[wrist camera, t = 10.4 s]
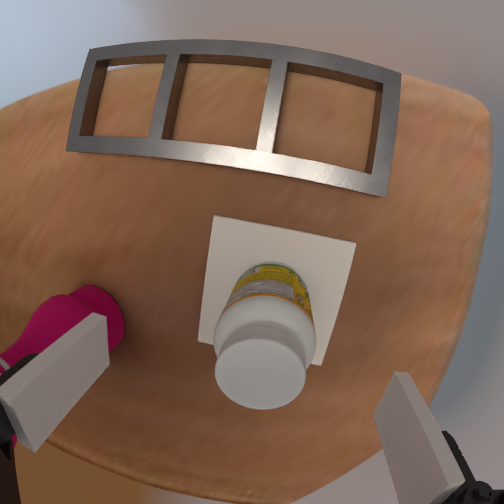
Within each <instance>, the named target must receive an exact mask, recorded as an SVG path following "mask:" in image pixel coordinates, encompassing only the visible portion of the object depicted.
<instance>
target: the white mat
mask: <svg viewBox="0 0 504 504" xmlns="http://www.w3.org/2000/svg"><path fill="white" fill-rule="evenodd" d="M355 247H356V243H355V242H352V241H348V240H343V239H338V238H333V237H329V236H324V235H319V234H314V233H309V232H304V231H299V230H294V229H289V228H284V227H279V226H273V225H268V224H263V223H258V222H252V221H247V220H242V219H236V218H231V217H225V216H220V215H214V218H213V224H212V231H211V238H210V245H209V252H208V259H207V267H206V274H205V282H204V290H203V298H202V306H201V315H200V324H199V333H198V341H199V342H203V343H207V344H212V345H214V343H213V337H214V331H215V327H216V324H217V322H218V320H219V317H220V315H221V313H222V311H223V309H224V307H225V305H226V303H227V301H228V299H229V297H230V295H231V293H232V290H233V288H234V286H235V284H236V282H237V281H238V279H239V278H240V276H241V275H242V274H243V273H244V272H245V271H247V270H248V269H249V268H251V267H253V266H255V265H258V264H261V263H266V262H274V263H280V264H284V265H286V266H289V267H290V268H292V269H294V270H295V271H296V272H297V273H298V274H299V275H300V277H301V278H302V280H303V281H304V283H305V285H306V287H307V290H308V293H309V298H310V304H311V309H312V315H313V321H314V326H315V332H316V341H317V344H316V351H315V355H314V358H313V360H312V362H311V364H314V365H321V364H322V361H323V358H324V355H325V352H326V349H327V346H328V343H329V340H330V337H331V334H332V331H333V328H334V324H335V321H336V318H337V314H338V311H339V308H340V304H341V301H342V297H343V294H344V290H345V286H346V283H347V279H348V275H349V271H350V267H351V264H352V260H353V256H354V251H355Z"/></svg>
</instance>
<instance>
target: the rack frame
mask: <svg viewBox="0 0 504 504" xmlns="http://www.w3.org/2000/svg"><path fill="white" fill-rule="evenodd" d="M145 63H165V64H164V68H163V72H162V76H161V80H160V84H159V89H158V93H157V97H156V102H155V107H154V111H153V116H152V121H151V127H150V132H149V137H148V138H133V137H108V136H92V134H93V129H94V123H95V118H96V113H97V109H98V104H99V100H100V95H101V91H102V87H103V83H104V79H105V75H106V72H107V68H108V66H118V65H130V64H145ZM188 63H217V64H232V65H244V66H254V67H263V68H271V70H270V75H269V81H268V86H267V92H266V97H265V102H264V108H263V113H262V119H261V124H260V130H259V135H258V141H257V147H256V150H249V149H243V148H236V147H228V146H221V145H213V144H204V143H195V142H186V141H175V140H171V139H172V133H173V128H174V123H175V118H176V113H177V108H178V103H179V98H180V94H181V89H182V85H183V80H184V76H185V72H186V68H187V64H188ZM288 71H292V72H298V73H303V74H309V75H314V76H319V77H324V78H329V79H333V80H338V81H342V82H346V83H350V84H354V85H358V86H362V87H365V88H369V89H372V90H376V100H375V109H374V117H373V125H372V132H371V139H370V146H369V153H368V159H367V165H366V171H365V173H363V172H359V171H355V170H351V169H347V168H343V167H338V166H334V165H330V164H325V163H320V162H316V161H311V160H306V159H301V158H296V157H290V156H285V155H279V154H274V147H275V142H276V136H277V130H278V124H279V119H280V113H281V107H282V102H283V96H284V90H285V84H286V79H287V73H288ZM401 74H402V73H399V72H396V71H393V70H390V69H387V68H383V67H380V66H377V65H373V64H370V63H366V62H363V61H359V60H355V59H351V58H347V57H343V56H338V55H334V54H330V53H325V52H320V51H314V50H309V49H304V48H298V47H291V46H284V45H276V44H269V43H259V42H247V41H233V40H203V39H199V40H193V39H192V40H162V41H149V42H137V43H129V44H120V45H113V46H106V47H100V48H94V49H89V52H88V56H87V59H86V62H85V65H84V69H83V72H82V76H81V80H80V83H79V87H78V91H77V96H76V100H75V104H74V109H73V114H72V119H71V124H70V129H69V135H68V141H67V148H66V151H70V152H84V153H103V154H119V155H132V156H143V157H154V158H164V159H173V160H182V161H190V162H198V163H206V164H213V165H220V166H227V167H234V168H240V169H246V170H252V171H258V172H264V173H270V174H276V175H281V176H286V177H292V178H297V179H302V180H307V181H312V182H316V183H321V184H326V185H330V186H335V187H339V188H344V189H348V190H352V191H357V192H361V193H365V194H369V195H373V196H377V197H383V198H386V194H387V188H388V183H389V177H390V171H391V165H392V159H393V152H394V145H395V138H396V130H397V121H398V112H399V101H400V89H401Z"/></svg>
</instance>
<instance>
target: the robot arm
mask: <svg viewBox="0 0 504 504" xmlns="http://www.w3.org/2000/svg"><path fill="white" fill-rule="evenodd" d="M109 365H110V364H109V352H108V338H107V317H106V316H103V315H100V314H97V313H94V312H93V313H91V314H90V315H89V316H87V317H86V318H85V319H83V320H82V321H81V322H80V323H78V324H77V325H76V326H74V327H73V328H72V329H70V330H69V331H68V332H67V333H65V334H64V335H63V336H61V337H60V338H59V339H58V340H56V341H55V342H54V343H53V344H51V345H50V346H49V347H48V348H46V349H45V350H44V351H43V352H41V353H40V354H37V353H35V352H34V353H32V354H29V355H26V356H24V357H23V358H21V359H20V360H19V361H18V362H16V364H14V365H13V366H11V367H10V369H7V370H6V371H5V372H4V373H3V374H1V375H0V504H21V501H20V495H19V489H18V482H17V475H16V467H15V458H14V446H13V441H12V437H13V435H14V434H16V436H17V438H18V439H19V441H20V443H21V444H22V445H24V446H25V447H27V448H28V449H30V450H31V451H33V452H34V453H35V452H36V451H37V450H38V449H39V447H40V446H41V445H42V444H43V442H44V441H45V440H46V439H47V438H48V436H49V435H50V434H51V433H52V431H53V430H54V429H55V428H56V427H57V425H58V424H59V423H60V422H61V421H62V419H63V418H64V417H65V416H66V415H67V414H68V412H69V411H70V410H71V409H72V408H73V406H74V405H75V404H76V403H77V402H78V401H79V399H80V398H81V397H82V396H83V395H84V394H85V392H86V391H87V390H88V389H89V388H90V387H91V385H92V384H93V383H94V382H95V381H96V380H97V379H98V377H99V376H100V375H101V374H102V373H103V372H104V371H105V369H106V368H107V367H108V366H109ZM373 418H374V421H375V424H376V427H377V430H378V434H379V437H380V440H381V443H382V446H383V449H384V453H385V456H386V459H387V463H388V466H389V469H390V473H391V476H392V480H393V483H394V487H395V490H396V494H397V498H398V501H399V504H504V490H492V488H491V487H490V486H489V484H487V483H485V482H482V481H476V480H475V478H474V477H473V475H472V472H471V470H470V468H469V466H468V464H467V462H466V461H465V459H464V457H463V456H462V453H461V451H460V449H458V445H457V443H456V441H455V440H454V438H453V437H452V436H451V435H450V434H449V433H447V431H441V430H440V429H439V426H438V425H437V423H436V421H435V419H434V417H433V415H432V414H431V412H430V410H429V408H428V406H427V404H426V403H425V401H424V399H423V397H422V395H421V394H420V392H419V390H418V388H417V387H416V385H415V383H414V381H413V380H412V378H411V376H410V375H409V373H408V372H394V374H393V376H392V378H391V380H390V382H389V384H388V386H387V388H386V391H385V393H384V395H383V397H382V398H381V400H380V402H379V404H378V406H377V408H376V410H375V412H374V414H373Z"/></svg>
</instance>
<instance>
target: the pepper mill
mask: <svg viewBox="0 0 504 504" xmlns="http://www.w3.org/2000/svg"><path fill="white" fill-rule="evenodd" d="M93 312H94V313H97V314H100V315H103V316H106V317H107V338H108V352H110V351H112V350H113V349H114V348H115V347H116V346H117V345H118V344H119V343H120V342H121V340H122V338H123V336H124V331H125V324H124V318H123V316H122V313H121V310H120V308H119V306H118V305H117V303H116V302H115V300H114V299H113V298H112V297H111V296H110V295H109V294H108V293H106V292H105V291H103V290H102V289H100V288H97V287H95V286H83V287H81V288H79V289H77V290H75V291H74V292H72V293H70V294H69V295H62V294H61V295H56V296H53V297H51V298H50V299H48V300H47V301H45V302H44V303H43V304H41V305H40V306H39V307H38V309H37V310H36V311H35V312H34V314H33V315H32V317H31V319H30V321H29V322H28V324H27V326H26V328H25V330H24V331H23V333H22V335H21V336H20V337H19V338H18V340H17V341H16V342H15V343H14V344H13V345H12V346H11V347H10V348H8V349H7V350H6V351H5V352H3V353H1V354H0V375H1V374H3V373H4V372H5V371H6V370H7V369H10V367H11V366H13V365H14V364H16V362H18V361H19V360H20V359H21V358H23V357H24V356H26V355H29V354H32V353H34V352H35V353H37V354H40V353H41V352H43V351H44V350H45V349H46V348H48V347H49V346H50V345H51V344H53V343H54V342H55V341H56V340H58V339H59V338H60V337H61V336H63V335H64V334H65V333H67V332H68V331H69V330H70V329H72V328H73V327H74V326H76V325H77V324H78V323H80V322H81V321H82V320H83V319H85V318H86V317H87V316H89V315H90V314H91V313H93ZM12 441H13V446H14V448H15V445H16V442H17V436H16V434H14V435H13V437H12Z"/></svg>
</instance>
